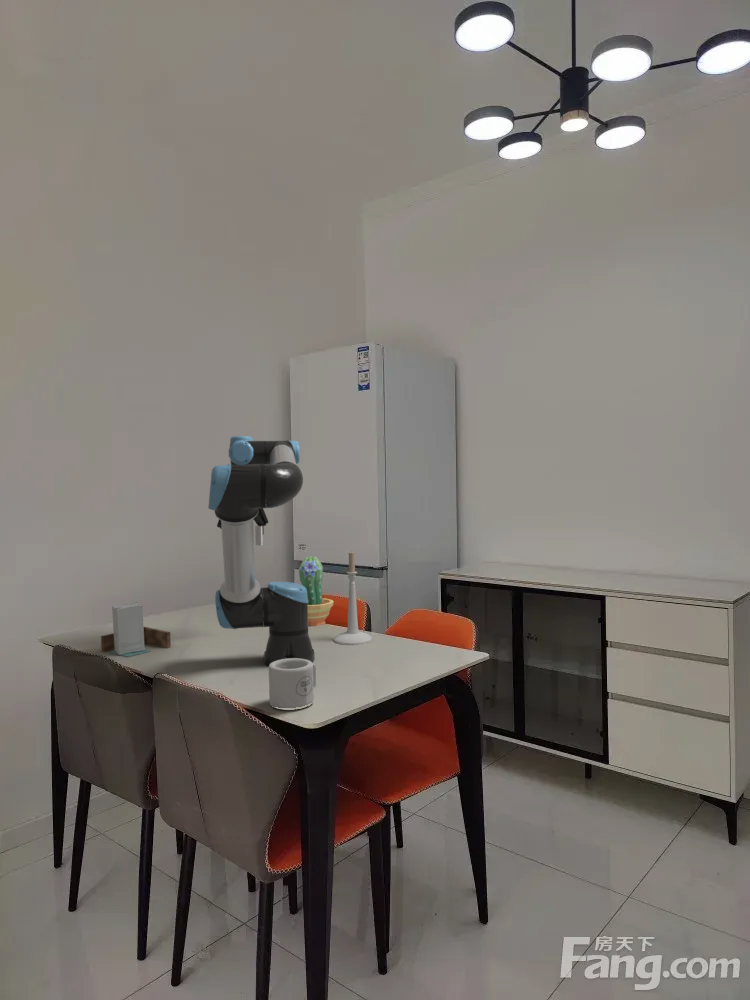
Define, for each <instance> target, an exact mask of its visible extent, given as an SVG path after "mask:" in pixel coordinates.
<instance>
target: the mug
mask: <svg viewBox="0 0 750 1000" xmlns="http://www.w3.org/2000/svg"><path fill="white" fill-rule="evenodd" d="M268 686H269V689H268V690H269V691H268V693H269V698H268V699H269V700H268V702H269V706H270V705H271V706H273V707H278V708H296V707H302V706H305V705H308V704H310V703H312V702H313V700H314V698H315V697H314V689H315V687H317V665H316V664H315V663H314V662H311V661H309V660H306V659H300V658H288V659H281V660H277V661H274V662H272V663H271V664H270V665H268ZM313 703H314V702H313ZM273 707H272V708H273Z"/></svg>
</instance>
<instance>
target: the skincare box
mask: <svg viewBox="0 0 750 1000" xmlns="http://www.w3.org/2000/svg"><path fill="white" fill-rule="evenodd" d="M111 608H112V625H113V628H112V629H113V633H114V647H115V651H116V652H117V653H118V654H119V656H121V654H126V653H131V652H137V651H143V650H146V648H145V646H146V645H145V643H144V627H145V626H144V611H143V610H144V607H143V604H141V603H140V602H132V603H126V604H120V605H112V606H111ZM118 654H117V655H118Z"/></svg>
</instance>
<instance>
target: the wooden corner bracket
mask: <svg viewBox="0 0 750 1000" xmlns="http://www.w3.org/2000/svg"><path fill="white" fill-rule="evenodd" d="M143 627H144V644H149V645H153V646H156V647H157V646H158V647H161V648H166V649H170V648H171V647H172V646H171V645H172V643H171V632H170V631H165V630H162V629H158V628H152V627H147V626H143ZM100 642H101V643H100V645H101V648H100V649H101V652H102V653H106V652H110V651H114V650H115V647H114V632H113V633H109V634H106V635H101V636H100Z"/></svg>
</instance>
